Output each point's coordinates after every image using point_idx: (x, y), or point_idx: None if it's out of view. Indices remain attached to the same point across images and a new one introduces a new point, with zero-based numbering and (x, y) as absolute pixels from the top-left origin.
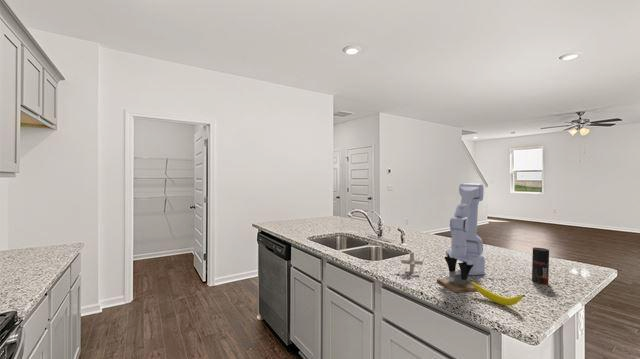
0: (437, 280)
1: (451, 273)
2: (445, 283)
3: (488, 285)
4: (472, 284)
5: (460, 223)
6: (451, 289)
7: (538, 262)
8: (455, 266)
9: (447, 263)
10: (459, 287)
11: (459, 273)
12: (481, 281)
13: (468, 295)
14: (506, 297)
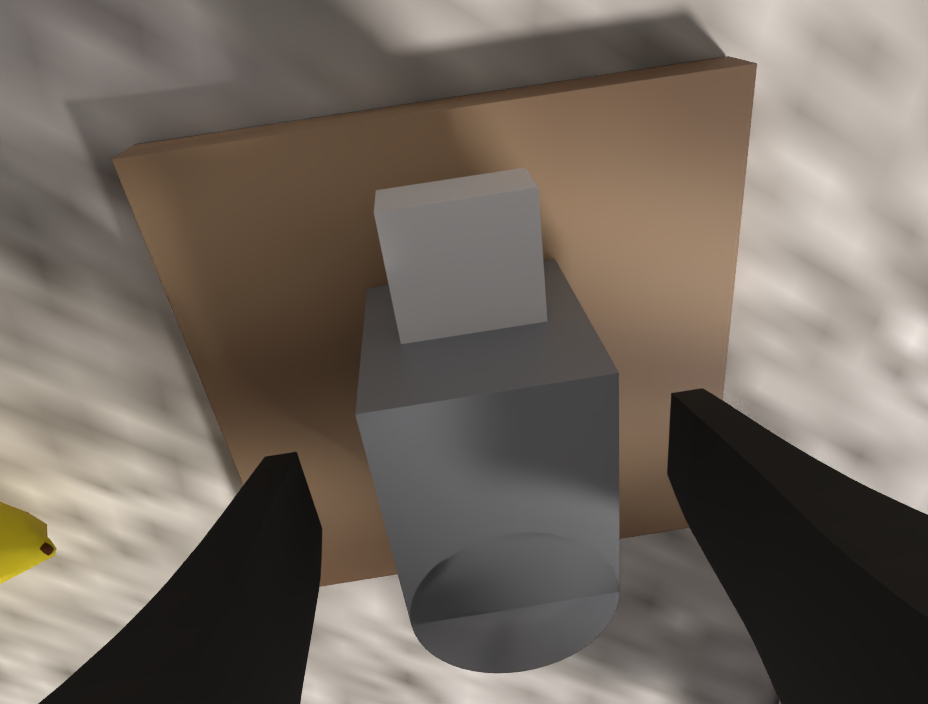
0: (724, 61)
1: (526, 373)
2: (468, 125)
3: (460, 686)
4: (15, 519)
5: None
6: (235, 131)
7: None
8: (744, 618)
9: (896, 517)
10: (253, 308)
11: (445, 529)
12: (588, 675)
13: (43, 323)
14: None
